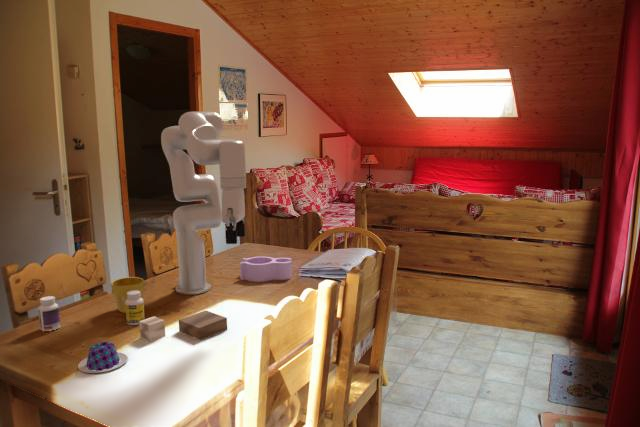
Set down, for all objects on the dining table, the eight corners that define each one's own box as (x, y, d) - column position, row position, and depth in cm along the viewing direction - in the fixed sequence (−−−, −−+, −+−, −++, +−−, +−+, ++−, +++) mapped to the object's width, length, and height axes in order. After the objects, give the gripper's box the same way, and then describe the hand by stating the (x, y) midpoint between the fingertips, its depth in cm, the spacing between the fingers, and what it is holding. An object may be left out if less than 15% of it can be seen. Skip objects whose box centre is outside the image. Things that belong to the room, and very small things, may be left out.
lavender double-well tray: (292, 272, 217) (292, 256, 216) (290, 281, 205) (290, 264, 204) (244, 272, 218) (243, 256, 216) (239, 282, 205) (238, 264, 204)
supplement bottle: (128, 326, 162) (125, 296, 160) (125, 321, 167) (123, 291, 165) (146, 323, 164) (144, 293, 163) (143, 317, 169) (141, 288, 167)
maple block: (140, 337, 154) (139, 321, 153) (155, 332, 158) (154, 316, 157) (150, 341, 151) (149, 325, 150) (165, 336, 155) (164, 320, 154)
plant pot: (151, 308, 177) (149, 280, 175) (122, 317, 170) (119, 288, 168) (136, 301, 184) (134, 274, 182) (107, 309, 177) (105, 281, 175)
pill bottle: (64, 326, 163) (61, 296, 161) (50, 333, 158) (47, 301, 156) (50, 324, 165) (47, 294, 163) (36, 330, 160) (33, 300, 158)
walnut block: (179, 332, 158) (178, 319, 157) (206, 322, 165) (205, 310, 165) (200, 341, 152) (199, 328, 151) (227, 330, 159) (226, 317, 158)
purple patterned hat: (103, 351, 146) (101, 333, 145) (137, 358, 141) (136, 340, 140) (67, 370, 135) (65, 351, 134) (103, 379, 130) (101, 359, 129)
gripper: (228, 179, 164) (231, 233, 167) (212, 186, 147) (215, 246, 150) (252, 179, 164) (254, 233, 167) (238, 186, 147) (241, 246, 150)
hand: (235, 239), depth 158 cm, fingers open, 9 cm apart
